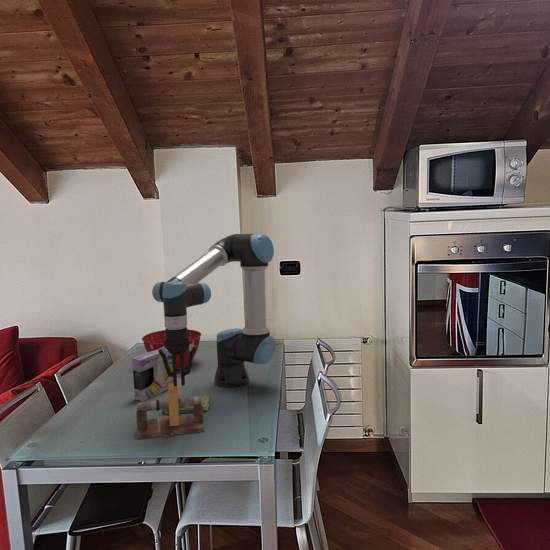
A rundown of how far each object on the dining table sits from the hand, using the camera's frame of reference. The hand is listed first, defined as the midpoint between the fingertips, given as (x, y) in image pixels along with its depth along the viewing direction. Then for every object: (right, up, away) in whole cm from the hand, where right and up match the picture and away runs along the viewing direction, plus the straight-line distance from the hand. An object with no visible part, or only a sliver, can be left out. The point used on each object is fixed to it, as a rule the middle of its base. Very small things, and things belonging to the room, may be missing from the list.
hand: (179, 394), depth 167 cm
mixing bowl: (-17, -4, +73) cm, 75 cm away
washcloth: (-1, -10, +19) cm, 22 cm away
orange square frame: (-2, -9, +1) cm, 9 cm away
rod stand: (-3, -12, +1) cm, 12 cm away
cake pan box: (-17, -8, +34) cm, 39 cm away
